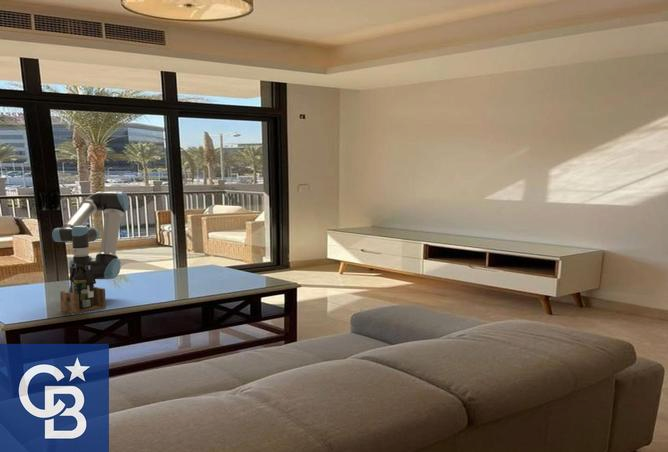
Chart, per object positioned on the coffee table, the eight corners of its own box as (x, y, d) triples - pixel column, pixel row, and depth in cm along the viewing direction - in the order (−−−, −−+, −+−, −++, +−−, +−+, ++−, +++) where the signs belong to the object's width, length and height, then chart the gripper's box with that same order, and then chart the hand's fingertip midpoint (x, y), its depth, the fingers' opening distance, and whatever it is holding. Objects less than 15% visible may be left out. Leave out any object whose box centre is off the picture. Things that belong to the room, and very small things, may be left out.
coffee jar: (73, 306, 268) (72, 271, 267) (90, 303, 273) (88, 269, 271) (76, 309, 260) (74, 274, 259) (93, 307, 265) (91, 272, 263)
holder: (59, 311, 263) (58, 291, 262) (91, 303, 278) (90, 285, 277) (75, 314, 255) (74, 294, 254) (107, 307, 270) (106, 288, 269)
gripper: (60, 254, 267) (62, 294, 269) (88, 258, 254) (90, 300, 256) (74, 252, 274) (76, 291, 276) (102, 256, 260) (104, 297, 262)
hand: (83, 295), depth 266 cm, fingers open, 13 cm apart
